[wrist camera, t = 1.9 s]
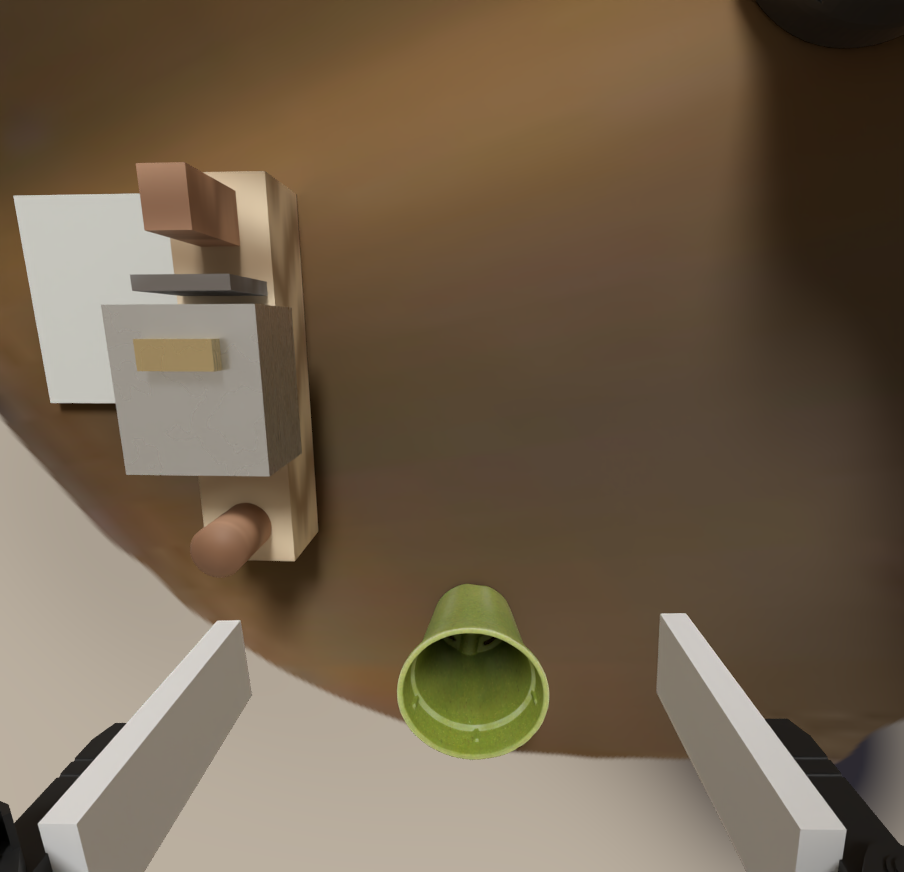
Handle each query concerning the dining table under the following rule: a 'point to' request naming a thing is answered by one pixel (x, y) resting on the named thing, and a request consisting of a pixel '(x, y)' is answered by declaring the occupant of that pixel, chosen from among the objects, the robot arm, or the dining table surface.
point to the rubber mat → (85, 281)
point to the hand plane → (238, 282)
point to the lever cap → (204, 388)
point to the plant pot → (473, 679)
